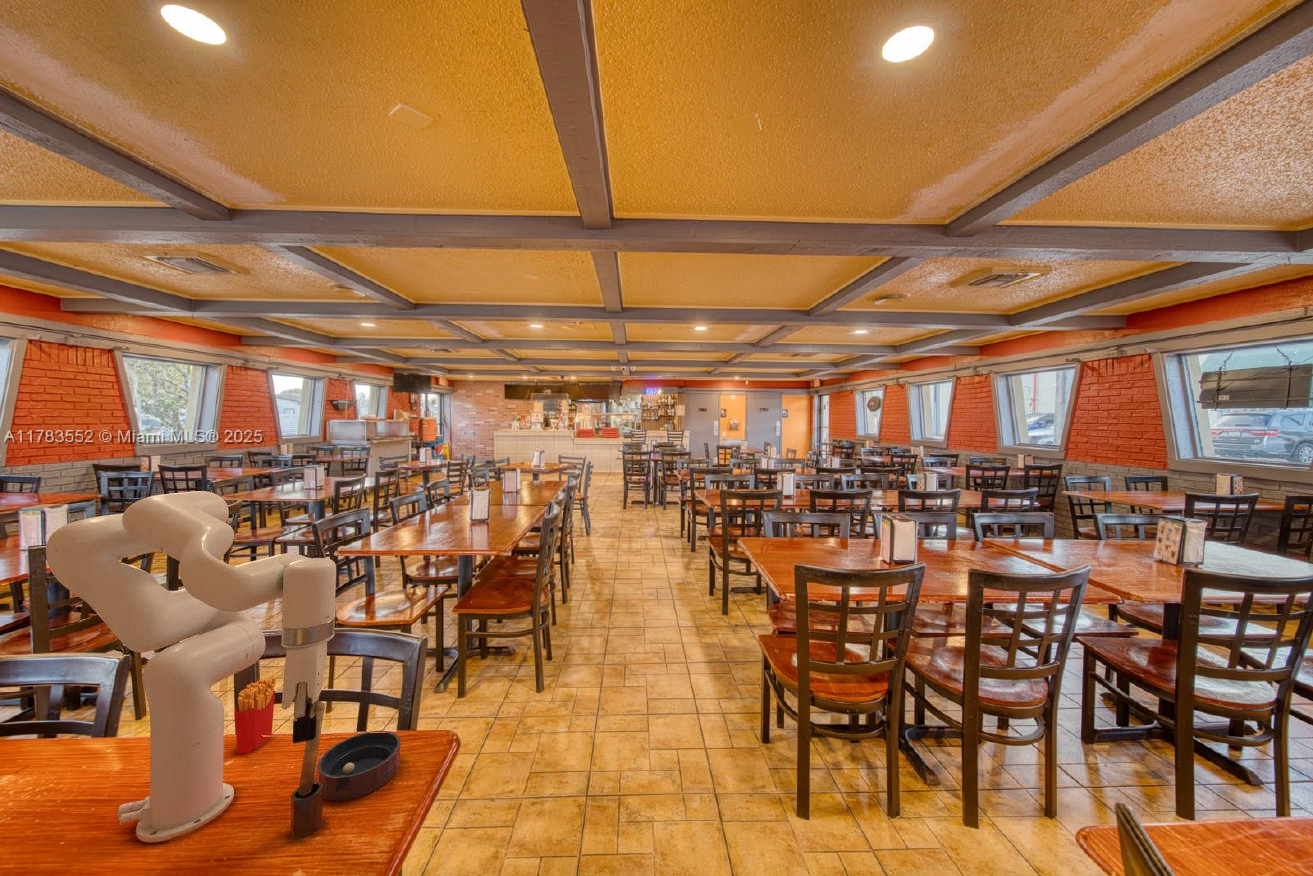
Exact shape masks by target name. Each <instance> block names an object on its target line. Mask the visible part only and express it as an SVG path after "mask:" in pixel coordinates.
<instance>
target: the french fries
mask: <svg viewBox="0 0 1313 876" xmlns="http://www.w3.org/2000/svg"><path fill="white" fill-rule="evenodd" d="M276 680H277V679H276V678H274V677H272V678H269V677H266V678H265V679H261V678H260V679H259V680H258V681H255V682H253V681H252V682H250V683H249V684H247V685H246V686H245V687H246V688H244V689H243V690H240V692H237V693H238V694H237V695H238V697H237V704H238V705H237V707H235V709H234V712H233V713H234V726H235V739H236V752H237V754H239V755H241V754H249V753H252V752H254V751H257V750H258V749H259V748H260V747H262V746H263V745H264V744H266V743H267V742H268V741H269V740H271V739H272V737H263V736H261V735H273V725H274V709H275V700H276V699H275V698H276V690H275V686H276Z"/></svg>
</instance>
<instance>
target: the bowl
mask: <svg viewBox="0 0 1313 876" xmlns="http://www.w3.org/2000/svg"><path fill="white" fill-rule="evenodd" d="M369 732H385V733H369ZM391 732H392V731H390V730H389V731H387V730H373V731H367V732H363V733H358V734H355V735H353V736H349V737H347V738H345V739H343V740H342V741H341V740H340V742H338V743H336V744H334V745H333V746H331V747H330V748H329V749H327V750H326V751H325V752H324V753H323V754H322V756H321V757H320V758H319V759H318V763H317V764H316V782H321V783H322V784H323V800H325V801H331V802H332V801H333V802H343V801H344V802H345V801H351V800H354V799H358V798H361V797H365V796H366V795H369V794H371V793H373V792H375V791H377V790H379V789H381V788H382V787H383V786H384V785H386V784H387V783H389V782H390V781H391V780H392V779H393V778H394V776H396V775H397V773H398V771H399V770H400V767H401V745H402V743H401V742H402V741H401V738H400V737H399V736H398V734H396V733H395V732H392V733H391ZM347 763H353V764H354V770H353V772H352V773H350V774H348V775H345V774H344V773H343V768H344V766H345V765H346V764H347Z"/></svg>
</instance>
